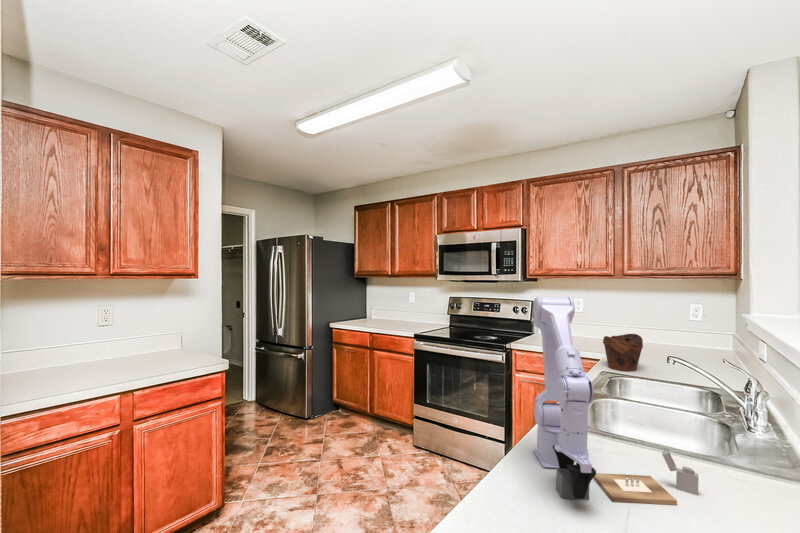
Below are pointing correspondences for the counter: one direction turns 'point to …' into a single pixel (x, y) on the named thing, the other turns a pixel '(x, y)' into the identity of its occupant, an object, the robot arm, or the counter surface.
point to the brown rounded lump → (623, 351)
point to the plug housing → (566, 485)
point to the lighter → (683, 475)
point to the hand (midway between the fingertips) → (572, 487)
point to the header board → (633, 489)
